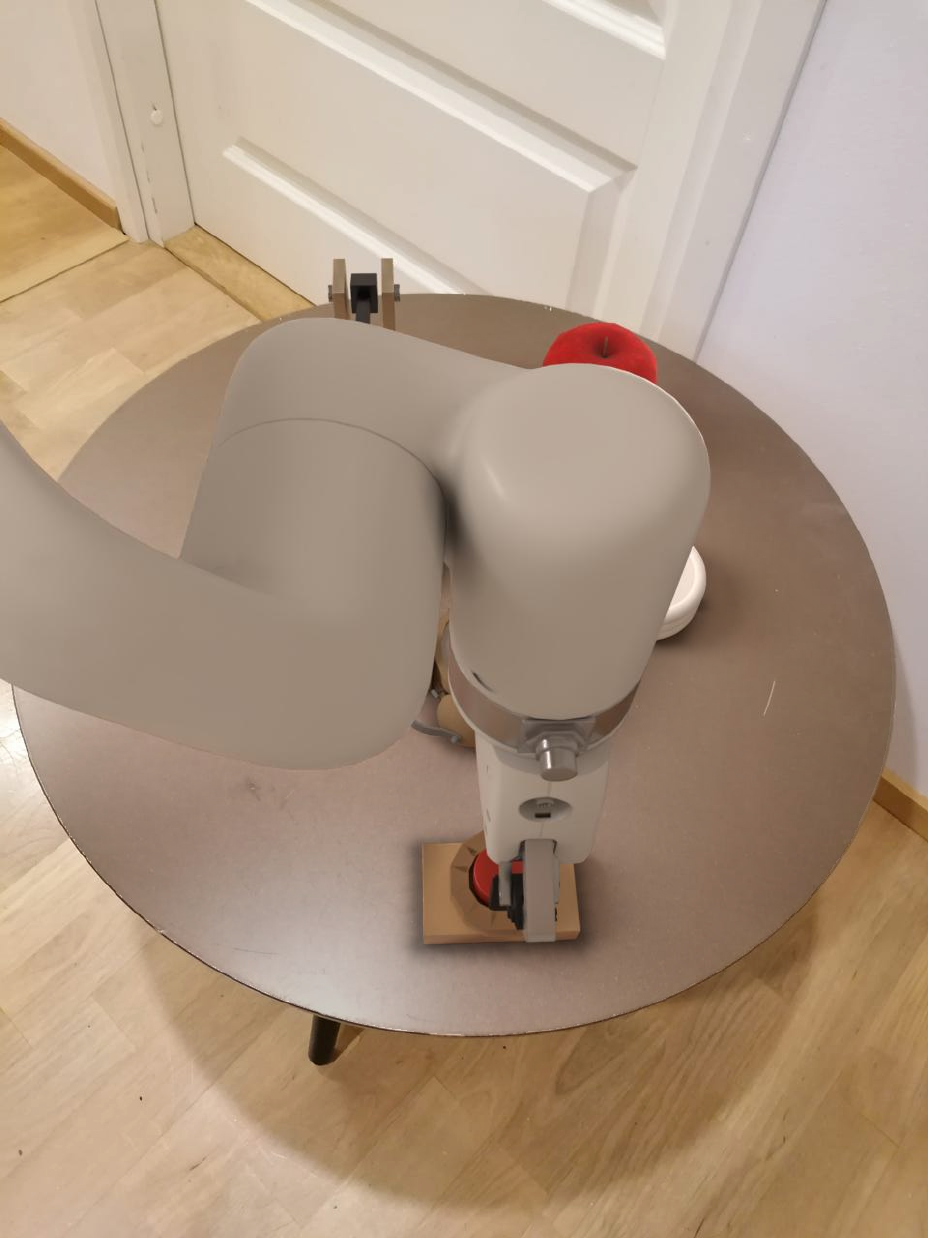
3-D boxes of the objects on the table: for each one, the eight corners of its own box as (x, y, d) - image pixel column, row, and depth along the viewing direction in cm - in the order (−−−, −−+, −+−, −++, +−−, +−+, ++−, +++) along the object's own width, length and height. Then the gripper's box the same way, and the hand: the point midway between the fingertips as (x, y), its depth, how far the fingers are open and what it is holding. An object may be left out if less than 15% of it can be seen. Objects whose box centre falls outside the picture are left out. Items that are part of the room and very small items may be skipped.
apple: (516, 444, 85) (527, 350, 76) (562, 380, 90) (577, 284, 80) (616, 486, 83) (639, 395, 73) (657, 418, 87) (684, 324, 78)
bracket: (415, 428, 86) (413, 314, 75) (327, 430, 85) (312, 315, 74) (412, 353, 91) (409, 236, 80) (329, 354, 90) (316, 237, 80)
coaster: (714, 633, 75) (726, 609, 72) (594, 653, 73) (601, 630, 70) (674, 535, 80) (683, 509, 77) (561, 552, 78) (566, 526, 75)
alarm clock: (617, 671, 69) (447, 752, 62) (597, 707, 73) (435, 787, 66) (531, 565, 74) (365, 630, 67) (517, 604, 78) (358, 669, 71)
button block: (423, 948, 61) (423, 932, 57) (422, 851, 64) (421, 830, 61) (576, 943, 61) (585, 927, 58) (566, 847, 65) (574, 826, 61)
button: (474, 909, 59) (475, 901, 57) (471, 853, 61) (472, 844, 59) (531, 907, 59) (533, 899, 57) (526, 851, 61) (529, 842, 59)
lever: (395, 367, 71) (394, 337, 69) (328, 368, 71) (326, 338, 69) (394, 300, 81) (393, 272, 79) (336, 300, 80) (334, 273, 79)
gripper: (677, 873, 32) (600, 980, 46) (612, 483, 41) (565, 674, 56) (456, 880, 31) (449, 986, 46) (441, 486, 41) (439, 677, 55)
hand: (513, 815), depth 51 cm, fingers open, 9 cm apart
